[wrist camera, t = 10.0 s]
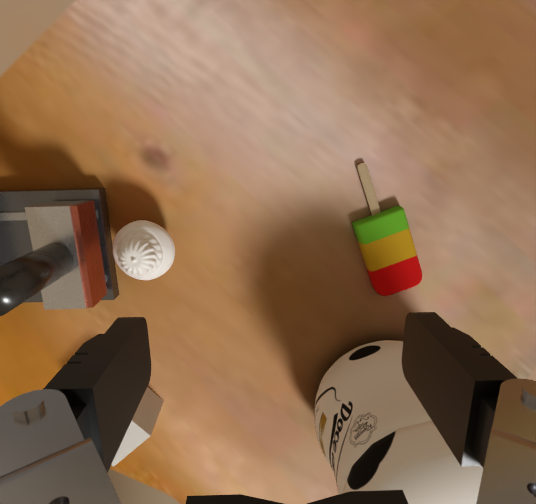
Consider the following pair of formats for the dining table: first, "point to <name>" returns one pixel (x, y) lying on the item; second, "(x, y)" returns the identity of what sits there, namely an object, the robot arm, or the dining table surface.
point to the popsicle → (386, 244)
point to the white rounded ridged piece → (143, 250)
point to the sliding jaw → (57, 259)
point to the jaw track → (18, 236)
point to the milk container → (386, 431)
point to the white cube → (140, 424)
